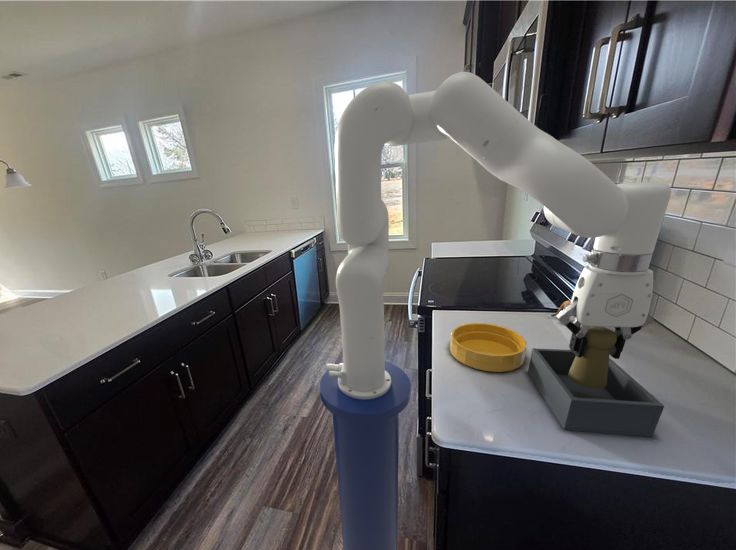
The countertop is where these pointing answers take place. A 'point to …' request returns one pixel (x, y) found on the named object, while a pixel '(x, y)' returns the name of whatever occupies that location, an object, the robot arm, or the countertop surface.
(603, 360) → the cork
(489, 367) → the bowl
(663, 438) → the countertop surface
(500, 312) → the countertop surface
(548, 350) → the bin
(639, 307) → the robot arm
